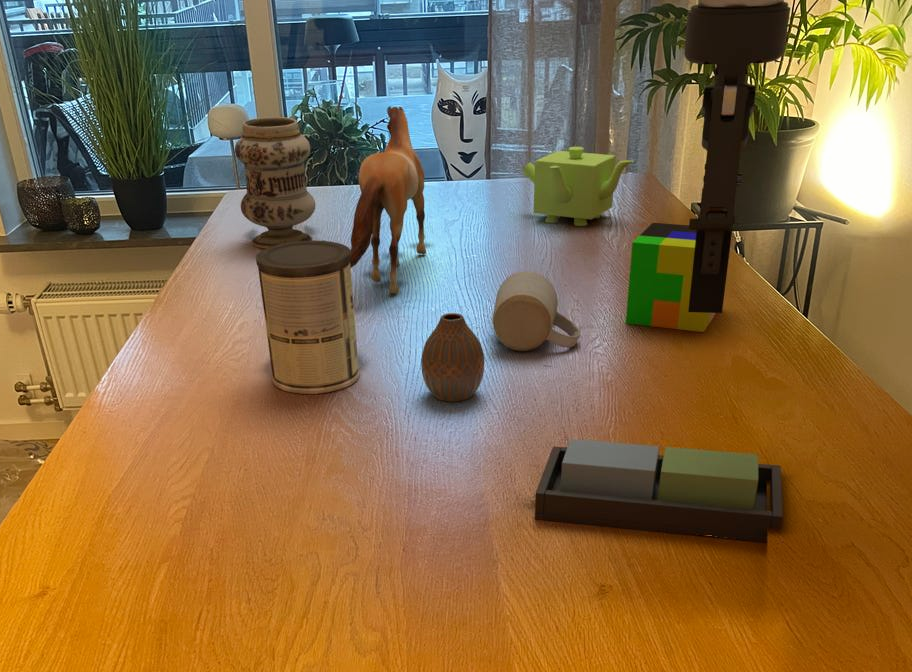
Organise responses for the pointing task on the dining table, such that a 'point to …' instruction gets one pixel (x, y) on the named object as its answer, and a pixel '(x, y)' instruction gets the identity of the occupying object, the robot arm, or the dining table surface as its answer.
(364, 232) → the horse figurine
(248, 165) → the apothecary jar
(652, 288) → the puzzle toy
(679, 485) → the green rectangular block
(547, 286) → the ceramic mug
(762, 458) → the dining table surface
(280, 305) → the coffee can
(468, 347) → the vase
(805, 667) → the dining table surface
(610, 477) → the grey block
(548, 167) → the kettle
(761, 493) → the black rectangular tray
